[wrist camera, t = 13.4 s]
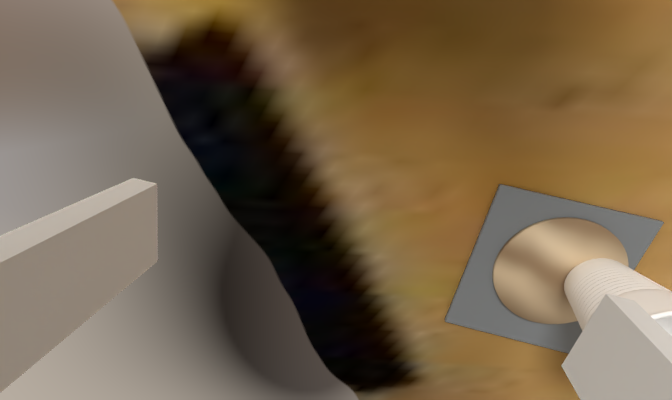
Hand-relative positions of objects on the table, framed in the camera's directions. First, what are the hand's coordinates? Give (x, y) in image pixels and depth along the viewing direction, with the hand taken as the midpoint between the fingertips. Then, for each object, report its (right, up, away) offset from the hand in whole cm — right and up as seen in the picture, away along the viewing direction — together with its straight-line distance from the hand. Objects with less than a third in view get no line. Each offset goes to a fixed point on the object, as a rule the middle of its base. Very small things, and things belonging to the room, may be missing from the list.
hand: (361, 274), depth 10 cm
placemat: (+22, -6, +28) cm, 36 cm away
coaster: (+23, -6, +27) cm, 36 cm away
